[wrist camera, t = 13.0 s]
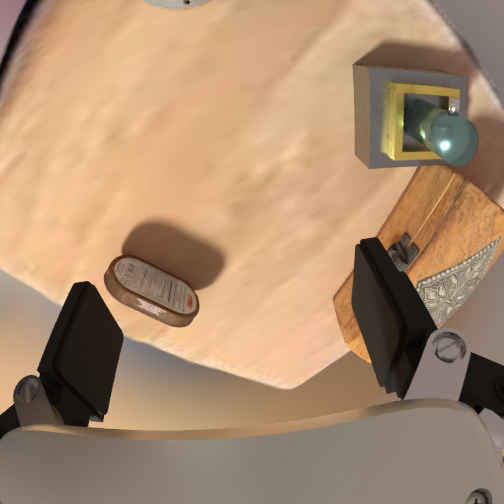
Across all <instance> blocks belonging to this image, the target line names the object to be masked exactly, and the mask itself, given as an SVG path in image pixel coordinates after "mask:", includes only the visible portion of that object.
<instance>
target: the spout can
mask: <svg viewBox="0 0 504 504" xmlns="http://www.w3.org/2000/svg"><path fill="white" fill-rule="evenodd" d="M459 108H460V99H459V98H457V97H452V96H449V104H448V111H447V110H445V109H443V108H441V107H438V106H436V105H434V104H432V103H429V102H427V101H417V102H415V103H413V104H412V105H411V106H410V107H409V108H408V110H407V112H406V114H405V119H404V123H405V128H406V131H407V132H408V134H409V135H410V136H411V137H412V138H414V139H415V140H417V141H418V142H420V143H421V144H423V145H424V146H426V147H427V148H428V149H430V150H431V151H433V152H434V153H435V154H437V155H438V156H440V157H441V158H442V159H444V160H445V161H446V162H448V163H449V164H451V165H453V166H462V165H465V164H466V163H468V162H469V161H470V160H471V159H472V158H473V156H474V155H475V153H476V150H477V147H478V133H477V130H476V128H475V126H474V125H473V124H472V123H471V122H469V121H468V120H466V119H464V118H462V117H460V116H459Z"/></svg>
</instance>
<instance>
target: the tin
mask: <svg viewBox="0 0 504 504" xmlns="http://www.w3.org/2000/svg"><path fill="white" fill-rule="evenodd" d="M104 283H105V286H106V289H107V290H108V292H109V293H110V294H111V296H112V297H113V298H115V299H116V300H117V301H118V302H120V303H122V304H124V305H125V306H128V307H130V308H132V309H134V310H136V311H138V312H140V313H142V314H145V315H147V316H149V317H151V318H153V319H155V320H158V321H160V322H162V323H164V324H166V325H169V326H172V327H178V328H179V327H186V326H188V325H189V324H190V323H191V322H192V321H193V319H194V317H195V316H196V315H197V313H198V312H199V300H198V297H197V295H196V293H195V292H194V290H193V289H192V288H191V287H190V286H189V285H188V284H187V283H185V282H184V281H182V280H181V279H179V278H177V277H175V276H173V275H171V274H169V273H167V272H165V271H163V270H161V269H159V268H157V267H155V266H153V265H151V264H149V263H147V262H145V261H143V260H142V259H139V258H137V257H134V256H129V255H122V256H119V257H116V258H115V259H114V260H113V261H112V262H111V263H110V265H109V267H108V269H107V271H106V272H105V274H104Z"/></svg>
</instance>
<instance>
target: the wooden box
mask: <svg viewBox="0 0 504 504" xmlns="http://www.w3.org/2000/svg"><path fill="white" fill-rule="evenodd" d="M376 237H378V239H379V240H380V241H381V243H382V245H383V246H384V248H385V249H386V251H387V253H388V254H389V256H390V258H391V259H392V261H393V262H394V264H395V266H396V267H397V269H398V271H399V272H400V271H404V272H405V273H406V274H407V275H408V277H409V278H410V280H411V282H412V283H413V285H414V287H415V289H416V290H417V292H418V294H419V295H420V297H421V299H422V301H423V302H424V304H425V306H426V308H427V310H428V311H429V313H430V315H431V317H432V319H433V320H434V322H435V324H436V326H437V328H439V327H440V326H441V325H442V324H443V323H444V322H445V321H446V320H447V319H448V318H449V317H450V316H451V315H452V314H453V313H454V312H455V311H456V310H457V309H458V308H459V307H460V306H461V305H462V304H463V303H464V302H465V300H466V299H467V298H468V297H469V295H470V294H471V292H472V291H473V290H474V288H475V287H476V286H477V284H478V283H479V282H480V281H481V279H482V278H483V277H484V276H485V274H486V273H487V272H488V270H489V269H490V268H491V267H492V265H493V264H494V262H495V261H496V260H497V258H498V257H499V255H500V254H501V253H502V251H503V250H504V209H503V208H502V207H501V206H499V205H498V204H497V203H496V202H495V201H494V200H493V199H491V198H490V197H489V196H488V195H487V194H485V193H484V192H483V191H482V190H481V189H479V188H478V187H477V186H476V185H474V184H473V183H472V182H471V181H469V180H468V179H467V178H466V177H464V176H463V175H461V174H460V173H457V172H456V171H454V170H453V169H452V168H450V167H449V166H447V165H435V166H418V168H417V169H416V171H415V173H414V175H413V177H412V178H411V180H410V182H409V184H408V185H407V187H406V189H405V190H404V192H403V194H402V195H401V197H400V199H399V200H398V202H397V204H396V205H395V207H394V208H393V210H392V212H391V213H390V215H389V217H388V218H387V220H386V221H385V223H384V224H383V226H382V228H381V229H380V231H379V232H378V234H377V235H376ZM353 273H354V269H353V271H352V272H351V273H350V275H349V276H348V278H347V279H346V281H345V282H344V283H343V285H342V286H341V287H340V289H339V290H338V291H337V293H336V294H335V296H334V298H333V303H334V307H335V311H336V315H337V320H338V323H339V326H340V329H341V331H342V334H343V337H344V340H345V343H346V344H347V346H348V347H349V348H350V349H351V350H352V351H353V352H354V353H355V354H357V355H358V356H359V357H361V358H362V359H364V360H365V361H367V362H370V363H372V362H371V360H370V357H369V354H368V351H367V348H366V345H365V342H364V340H363V337H362V334H361V331H360V329H359V326H358V323H357V320H356V318H355V315H354V312H353V310H352V305H351V296H352V285H353Z"/></svg>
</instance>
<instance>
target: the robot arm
mask: <svg viewBox="0 0 504 504" xmlns="http://www.w3.org/2000/svg"><path fill="white" fill-rule="evenodd" d="M143 1H144V2H146V3H148V4H150V5H152V6H155V7H158V8H162V9H168V10H182V9H189V8H193V7H197V6H200V5H203V4H205V3H207V2H209V1H211V0H143ZM186 1H190V3H189V4H186ZM351 305H352V310H353V312H354V315H355V318H356V320H357V323H358V326H359V329H360V331H361V334H362V337H363V340H364V342H365V345H366V348H367V351H368V354H369V357H370V360H371V362H372V365H373V368H374V371H375V374H376V377H377V380H378V383H379V385H380V387H383V386H385V389H386V392H387V394H389V393H392V392H396V393H397V396H398V398H401V400H400V401H394V402H390V403H385V404H380V405H375V406H370V407H366V408H361V409H357V410H352V411H347V412H342V413H337V414H332V415H326V416H321V417H315V418H309V419H303V420H297V421H290V422H283V423H275V424H268V425H258V426H249V427H238V428H225V429H210V430H184V431H183V430H181V431H148V430H147V431H143V430H119V429H104V428H91V427H89V425H88V424H89V420H91V421H96V422H103V419H104V415H106V413H107V411H108V407H109V402H110V397H111V392H112V387H113V383H114V378H115V373H116V368H117V364H118V360H119V356H120V351H121V347H122V343H123V332H122V330H121V329H120V327H119V326H118V324H117V322H116V321H115V319H114V317H113V316H112V314H111V312H110V311H109V309H108V307H107V306H106V304H105V302H104V301H103V299H102V297H101V296H100V294H99V292H98V290H97V288H96V287H95V285H93V284H91V283H90V282H89V281H84V282H78V283H74V284H73V286H72V288H71V290H70V292H69V294H68V296H67V299H66V301H65V303H64V305H63V307H62V310H61V312H60V314H59V317H58V319H57V321H56V323H55V326H54V328H53V330H52V333H51V335H50V338H49V340H48V343H47V345H46V348H45V350H44V353H43V355H42V358H41V361H40V363H39V366H38V369H37V371H38V372H39V373H40V376H39V378H38V377H37V376H35V375H28V376H26V377H24V378H22V379H21V380H20V381H19V382H18V384H17V385H16V387H15V390H14V393H13V401H14V404H13V405H12V406H11V407H9V408H8V409H7V410H6V411H5V412H3V413H2V414H1V415H0V504H504V366H503V365H501V364H498V363H496V362H493V361H491V360H489V359H486V358H484V357H482V356H479V355H477V354H475V353H472V352H471V347H470V343H469V341H468V340H467V338H466V337H465V336H464V335H463V334H462V333H461V332H459V331H457V330H455V329H451V328H441V329H438V328H437V326H436V324H435V322H434V320H433V319H432V317H431V315H430V313H429V311H428V310H427V308H426V306H425V304H424V302H423V301H422V299H421V297H420V295H419V294H418V292H417V290H416V289H415V287H414V285H413V283H412V282H411V280H410V278H409V277H408V275H407V274H406V273H405V272H404V271H400V272H399V271H398V269H397V267H396V266H395V264H394V262H393V261H392V259H391V258H390V256H389V254H388V253H387V251H386V249H385V248H384V246H383V245H382V243H381V241H380V240H379V239H378V237H373V238H367V239H362V240H361V241H360V244H357V245H356V246H355V260H354V273H353V285H352V296H351ZM491 437H492V438H493V439H494V440H492V438H491ZM493 442H494V443H495V444H496V445H497V446H498V447H499V449H500V450H501V451H502V456H503V459H502V464H501V461H500V458H499V455H498V453H497V450H496V448H495V445H494V443H493Z"/></svg>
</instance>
